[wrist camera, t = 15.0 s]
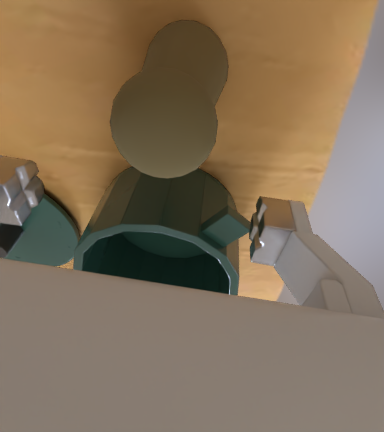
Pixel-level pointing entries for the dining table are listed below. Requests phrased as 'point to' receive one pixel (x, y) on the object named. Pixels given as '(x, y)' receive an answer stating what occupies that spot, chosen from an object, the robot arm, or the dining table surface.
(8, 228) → the lid
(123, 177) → the pot
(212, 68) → the tan game pawn
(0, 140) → the dining table surface
